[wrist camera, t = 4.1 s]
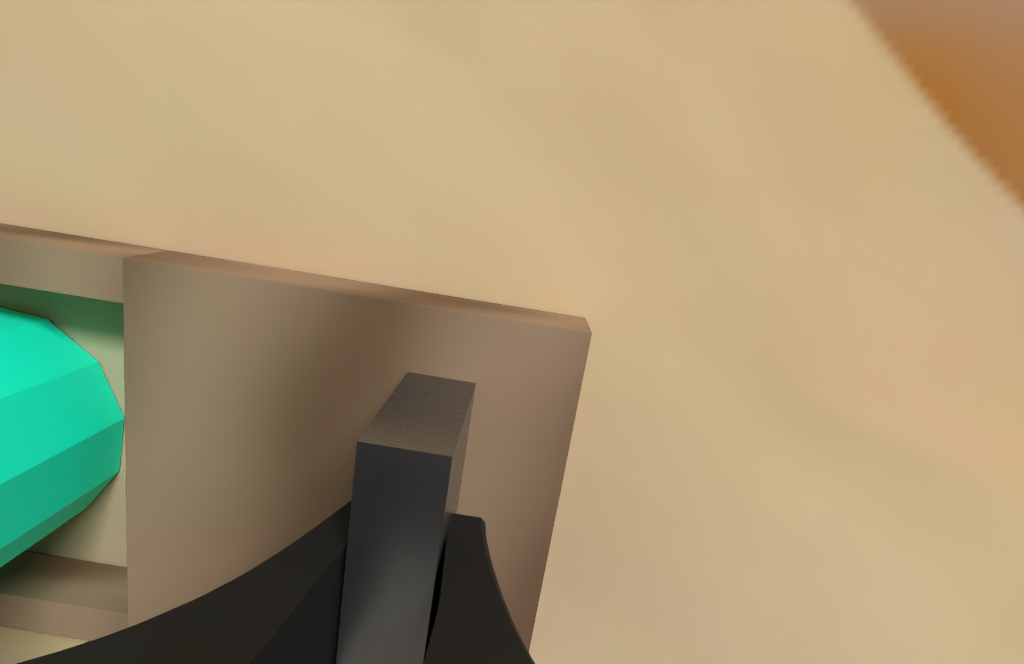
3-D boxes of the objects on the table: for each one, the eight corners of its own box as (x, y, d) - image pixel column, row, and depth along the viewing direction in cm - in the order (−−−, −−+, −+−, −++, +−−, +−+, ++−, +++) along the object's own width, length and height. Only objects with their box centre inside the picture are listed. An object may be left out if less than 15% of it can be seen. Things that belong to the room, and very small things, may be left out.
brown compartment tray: (585, 318, 13) (615, 389, 8) (518, 662, 15) (511, 875, 11) (-246, 183, 13) (-709, 175, 8) (-184, 547, 15) (-512, 707, 11)
